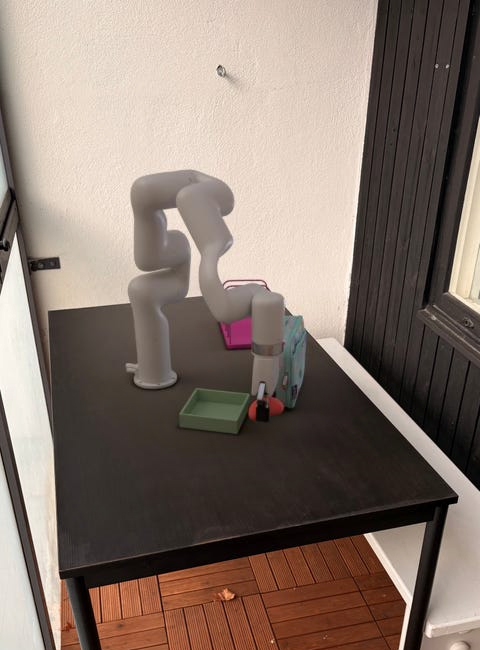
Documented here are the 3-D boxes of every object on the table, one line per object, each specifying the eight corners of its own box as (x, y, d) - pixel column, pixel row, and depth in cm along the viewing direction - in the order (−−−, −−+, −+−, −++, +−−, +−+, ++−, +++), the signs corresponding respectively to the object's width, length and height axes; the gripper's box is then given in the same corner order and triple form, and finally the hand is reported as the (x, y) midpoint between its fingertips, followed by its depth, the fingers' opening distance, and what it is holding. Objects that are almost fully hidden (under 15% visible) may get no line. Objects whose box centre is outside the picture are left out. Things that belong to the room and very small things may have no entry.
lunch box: (294, 418, 170) (298, 342, 160) (256, 414, 172) (257, 339, 162) (306, 375, 193) (309, 306, 182) (272, 372, 195) (273, 304, 184)
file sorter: (267, 319, 233) (268, 277, 225) (280, 346, 212) (281, 300, 204) (219, 322, 231) (218, 279, 223) (227, 349, 210) (227, 303, 202)
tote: (179, 427, 166) (179, 414, 165) (196, 400, 179) (196, 388, 177) (237, 434, 163) (237, 420, 161) (250, 406, 176) (250, 393, 174)
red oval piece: (246, 416, 161) (241, 402, 156) (277, 399, 162) (273, 385, 157) (255, 431, 159) (251, 417, 153) (287, 414, 159) (284, 399, 154)
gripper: (259, 331, 157) (258, 395, 166) (243, 359, 143) (243, 428, 151) (289, 334, 156) (287, 398, 165) (276, 363, 141) (274, 432, 150)
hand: (266, 412), depth 158 cm, fingers closed on red oval piece, 7 cm apart
